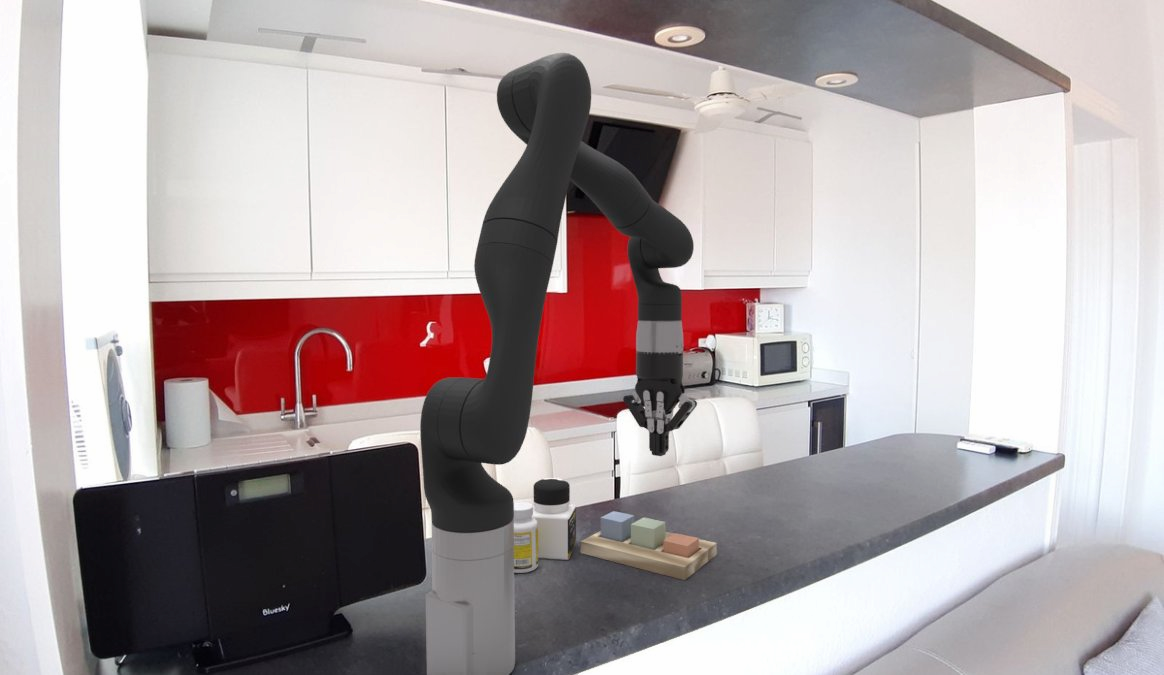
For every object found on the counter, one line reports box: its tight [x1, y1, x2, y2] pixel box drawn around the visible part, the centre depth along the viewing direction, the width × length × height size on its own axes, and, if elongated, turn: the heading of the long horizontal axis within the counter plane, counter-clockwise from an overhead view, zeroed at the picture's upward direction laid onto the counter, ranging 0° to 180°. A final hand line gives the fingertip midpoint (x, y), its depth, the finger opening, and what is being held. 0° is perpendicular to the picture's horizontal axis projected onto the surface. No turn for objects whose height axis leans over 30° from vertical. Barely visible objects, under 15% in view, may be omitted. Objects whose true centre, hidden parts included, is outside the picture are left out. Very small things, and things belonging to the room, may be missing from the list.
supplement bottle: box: [514, 502, 539, 574], centre depth 104 cm, size 5×5×10 cm
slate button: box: [599, 510, 635, 542], centre depth 113 cm, size 4×4×4 cm
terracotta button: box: [663, 532, 700, 558], centre depth 106 cm, size 4×4×4 cm
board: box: [580, 530, 718, 581], centre depth 109 cm, size 12×19×2 cm, turn 55°
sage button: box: [631, 516, 667, 550], centre depth 109 cm, size 4×4×4 cm
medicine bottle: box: [532, 477, 577, 561], centre depth 110 cm, size 7×7×12 cm
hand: (659, 454), depth 107 cm, fingers closed
